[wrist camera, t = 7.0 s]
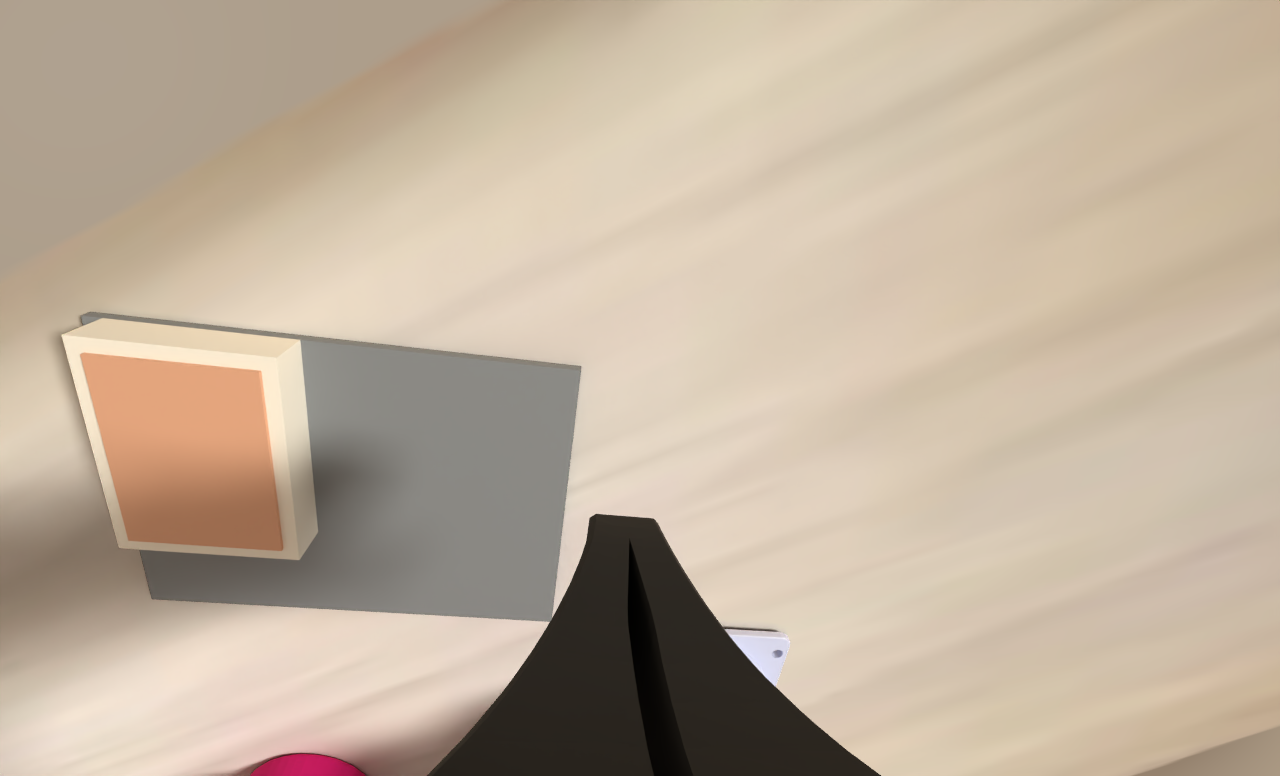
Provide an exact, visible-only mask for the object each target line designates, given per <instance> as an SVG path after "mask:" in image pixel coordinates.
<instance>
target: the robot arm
mask: <svg viewBox="0 0 1280 776" xmlns="http://www.w3.org/2000/svg"><path fill="white" fill-rule="evenodd" d="M789 647H790V641H789V638H788V636H787V635H786V634H785V633H782V632H770V631H752V630H735V629H724V628H723V627H722V626H721V624H720V623H719V621H718V620H717V619H716V617H715V616H714V615H713V613H712V612H711V611H710V609H709V608H708V606H707V605H706V604H705V602H704V601H703V599H702V598H701V596H700V595H699V593H698V592H697V590H696V589H695V587H694V586H693V584H692V583H691V581H690V579H689V578H688V576H687V575H686V573H685V572H684V570H683V568H682V567H681V565H680V563H679V562H678V560H677V558H676V556H675V555H674V553H673V551H672V549H671V548H670V546H669V544H668V542H667V540H666V539H665V537H664V535H663V533H662V531H661V529H660V527H659V525H658V523H657V522H656V521H655V520H654V519H652V518H640V517H627V516H615V515H602V514H595V515H594V516H592V517H591V518H590V519H589V526H588V534H587V541H586V544H585V547H584V550H583V553H582V556H581V559H580V561H579V564H578V566H577V569H576V571H575V573H574V576H573V578H572V581H571V583H570V585H569V587H568V589H567V591H566V593H565V595H564V597H563V599H562V601H561V603H560V605H559V607H558V609H557V611H556V612H555V614H554V616H553V618H552V620H551V621H550V623H549V625H548V626H547V628H546V630H545V631H544V633H543V635H542V636H541V638H540V640H539V641H538V643H537V644H536V646H535V647H534V649H533V650H532V652H531V653H530V655H529V656H528V658H527V659H526V661H525V662H524V663H523V665H522V666H521V668H520V669H519V671H518V672H517V673H516V675H515V676H514V678H513V679H512V680H511V682H510V683H509V684H508V686H507V687H506V688H505V689H504V691H503V692H502V693H501V695H500V696H499V697H498V698H497V699H496V701H495V702H494V703H493V704H492V705H491V707H490V708H489V709H488V710H487V711H486V713H485V714H484V715H483V716H482V717H481V719H480V720H479V721H478V722H477V723H476V725H475V726H474V727H473V728H472V729H471V730H470V731H469V733H468V734H467V735H466V736H465V737H464V738H463V739H462V740H461V741H460V742H459V743H458V744H457V745H456V746H455V748H454V749H453V750H452V751H451V752H450V753H449V754H448V755H447V756H446V757H445V758H444V759H443V760H442V761H441V762H440V763H439V764H438V765H437V766H436V767H435V768H434V769H433V770H432V771H431V772H430V773H429V774H428V775H427V776H881V775H879V774H878V773H877V772H875V771H874V770H873V769H871V768H870V767H869V766H867V765H866V764H865V763H863V762H862V761H861V760H859V759H858V758H857V757H855V756H854V755H852V754H851V753H850V752H848V751H847V750H846V749H845V748H843V747H842V746H841V745H840V744H839V743H837V742H836V741H835V740H834V739H833V738H831V737H830V736H829V735H828V734H827V733H825V732H824V731H823V730H822V729H821V728H819V727H818V726H817V725H816V724H815V723H814V722H812V721H811V720H810V719H809V718H808V717H807V716H806V715H805V714H803V713H802V712H801V711H800V710H799V709H798V708H797V707H796V706H795V705H794V704H793V703H792V702H791V701H790V700H789V699H788V698H787V697H785V696H784V695H783V694H782V693H781V692H780V691H779V690H778V689H777V688H776V684H777V681H778V679H779V676H780V673H781V670H782V667H783V664H784V661H785V659H786V656H787V653H788V650H789ZM775 650H777V651H775Z"/></svg>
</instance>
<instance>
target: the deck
mask: <svg viewBox="0 0 1280 776" xmlns="http://www.w3.org/2000/svg"><path fill="white" fill-rule="evenodd" d="M62 339H63V343H64V346H65V350H66V354H67V358H68V361H69V365H70V369H71V372H72V376H73V380H74V384H75V387H76V391H77V395H78V398H79V402H80V406H81V410H82V413H83V417H84V421H85V424H86V428H87V432H88V436H89V439H90V443H91V447H92V450H93V454H94V458H95V462H96V465H97V469H98V473H99V476H100V480H101V484H102V488H103V491H104V495H105V499H106V503H107V506H108V510H109V514H110V517H111V521H112V525H113V529H114V532H115V536H116V540H117V543H118V547H119V548H122V549H138V550H153V551H168V552H183V553H198V554H213V555H228V556H244V557H259V558H274V559H289V560H300V559H301V557H302V556H303V554H304V553H305V551H306V550H307V548H308V547H309V545H310V544H311V542H312V541H313V539H314V538H315V536H316V535H317V533H318V525H317V514H316V503H315V493H314V482H313V471H312V460H311V450H310V439H309V428H308V417H307V406H306V396H305V385H304V374H303V363H302V353H301V342H300V340H297V339H288V338H279V337H270V336H261V335H252V334H243V333H234V332H225V331H216V330H207V329H198V328H188V327H179V326H170V325H161V324H152V323H143V322H134V321H125V320H116V319H107V318H101V319H99V320H96V321H94V322H92V323H89V324H87V325H84V326H82V327H79V328H77V329H74V330H72V331H70V332H67V333H65V334H62Z"/></svg>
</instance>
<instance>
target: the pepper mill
mask: <svg viewBox="0 0 1280 776" xmlns="http://www.w3.org/2000/svg"><path fill="white" fill-rule="evenodd" d="M250 776H365V774H363V773H362V772H361V771H359V770H358V769H357V768H355V767H354V766H352V765H350V764H348V763H346V762H343V761H341V760H338V759H336V758H332V757H328V756H323V755H314V754H295V755H288V756H282V757H279V758H276V759H272V760H270V761H268V762H266V763H265V764H263V765H261V766H260V767H258V768H257V769H255V770H254V771H253V772H252V773H251V774H250Z"/></svg>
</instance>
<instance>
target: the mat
mask: <svg viewBox="0 0 1280 776" xmlns="http://www.w3.org/2000/svg"><path fill="white" fill-rule="evenodd" d="M101 318H107V319H116V320H125V321H134V322H143V323H152V324H161V325H170V326H179V327H188V328H198V329H207V330H216V331H225V332H234V333H243V334H252V335H261V336H270V337H279V338H288V339H297V340H300V342H301V353H302V363H303V374H304V385H305V396H306V406H307V417H308V428H309V439H310V450H311V460H312V471H313V482H314V493H315V503H316V514H317V525H318V533H317V535H316V536H315V538H314V539H313V541H312V542H311V544H310V545H309V547H308V548H307V550H306V551H305V553H304V554H303V556H302V557H301V559H300V560H289V559H274V558H259V557H244V556H228V555H213V554H198V553H183V552H168V551H153V550H140V554H141V558H142V562H143V566H144V570H145V574H146V578H147V582H148V586H149V590H150V594H151V598H152V599H158V600H176V601H194V602H211V603H229V604H247V605H264V606H282V607H300V608H317V609H335V610H353V611H371V612H388V613H406V614H424V615H441V616H459V617H477V618H494V619H512V620H530V621H547V622H550V621H551V620H552V611H553V603H554V594H555V586H556V577H557V569H558V561H559V552H560V544H561V535H562V527H563V518H564V510H565V501H566V493H567V484H568V476H569V467H570V459H571V450H572V442H573V433H574V425H575V416H576V408H577V399H578V391H579V382H580V374H581V366H573V365H564V364H555V363H546V362H537V361H528V360H519V359H510V358H501V357H492V356H483V355H474V354H465V353H456V352H447V351H438V350H429V349H420V348H411V347H402V346H393V345H384V344H375V343H366V342H357V341H348V340H339V339H330V338H321V337H312V336H303V335H294V334H285V333H276V332H267V331H258V330H249V329H240V328H231V327H222V326H213V325H204V324H195V323H186V322H177V321H168V320H159V319H150V318H141V317H132V316H123V315H114V314H105V313H96V312H89V313H86V314H84V315H81V319H82V323H83V326H84V325H87V324H89V323H92V322H94V321H96V320H99V319H101Z"/></svg>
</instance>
